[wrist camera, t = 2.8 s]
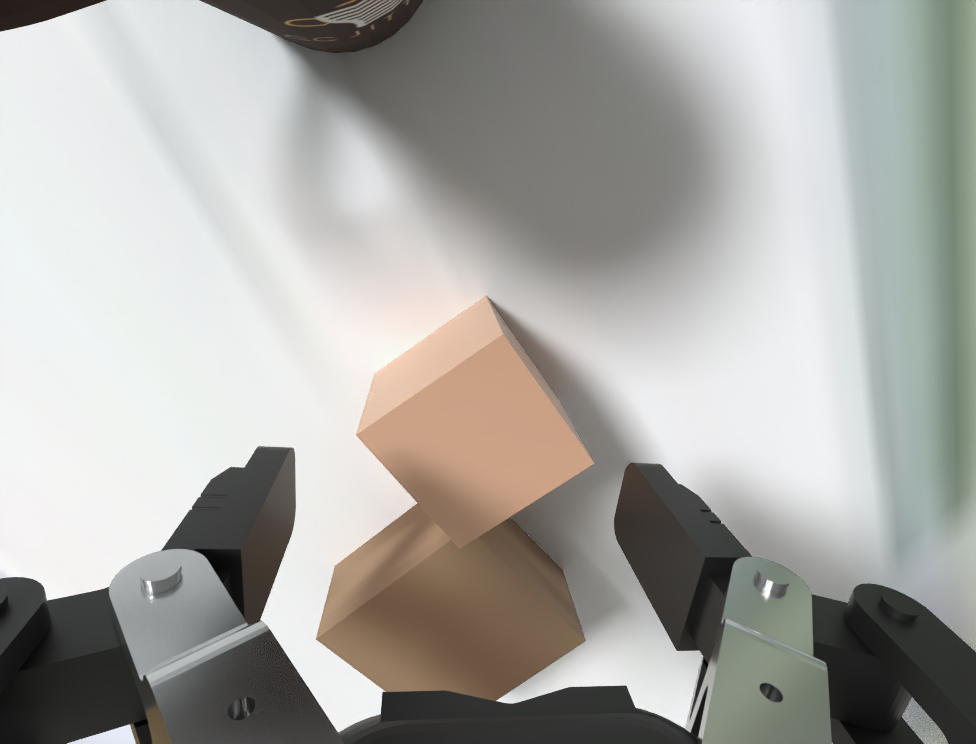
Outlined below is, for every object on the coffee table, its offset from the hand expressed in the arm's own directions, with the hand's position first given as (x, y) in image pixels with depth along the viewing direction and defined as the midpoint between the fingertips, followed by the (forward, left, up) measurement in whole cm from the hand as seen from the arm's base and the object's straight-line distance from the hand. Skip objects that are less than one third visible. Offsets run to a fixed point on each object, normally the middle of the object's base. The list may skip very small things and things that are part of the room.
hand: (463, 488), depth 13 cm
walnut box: (+5, +7, -8) cm, 12 cm away
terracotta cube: (0, +1, -8) cm, 8 cm away
